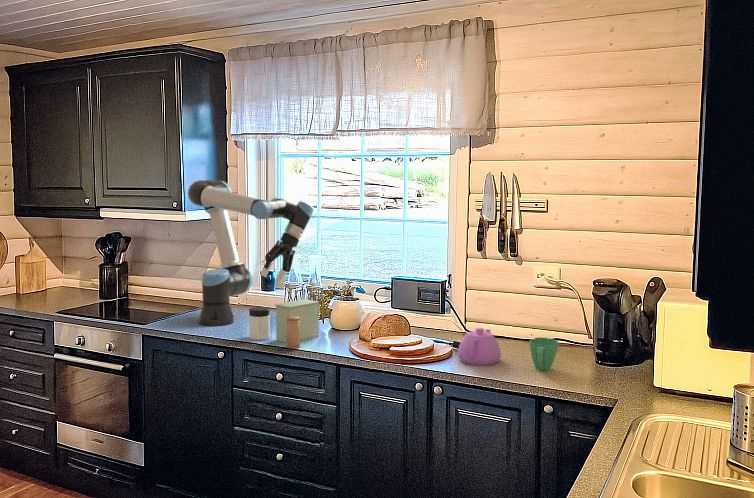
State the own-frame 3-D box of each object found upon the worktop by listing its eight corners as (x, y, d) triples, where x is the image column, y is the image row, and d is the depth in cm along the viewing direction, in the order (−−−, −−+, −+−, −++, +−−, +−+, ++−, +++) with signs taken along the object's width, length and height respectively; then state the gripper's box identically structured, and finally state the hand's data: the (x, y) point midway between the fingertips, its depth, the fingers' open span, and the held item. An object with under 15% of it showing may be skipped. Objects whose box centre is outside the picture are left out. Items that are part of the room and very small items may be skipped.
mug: (530, 363, 249) (531, 336, 248) (558, 366, 246) (559, 339, 245) (524, 374, 235) (525, 346, 234) (554, 378, 232) (555, 348, 231)
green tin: (275, 340, 280) (275, 304, 278) (305, 333, 292) (305, 299, 291) (289, 343, 275) (289, 307, 273) (319, 336, 287) (319, 301, 285)
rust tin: (283, 347, 269) (283, 317, 267) (293, 344, 273) (293, 315, 271) (292, 349, 265) (292, 319, 264) (302, 346, 269) (302, 317, 268)
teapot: (491, 371, 239) (492, 337, 238) (448, 365, 246) (449, 332, 245) (508, 356, 259) (509, 324, 258) (468, 351, 266) (469, 320, 264)
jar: (253, 341, 278) (253, 311, 276) (245, 336, 284) (245, 308, 283) (274, 338, 283) (273, 309, 282) (265, 334, 290) (265, 305, 288)
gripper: (286, 229, 287) (263, 275, 284) (310, 247, 309) (289, 290, 306) (272, 223, 290) (249, 269, 287) (296, 241, 312) (275, 284, 309)
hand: (270, 280), depth 296 cm, fingers open, 13 cm apart
